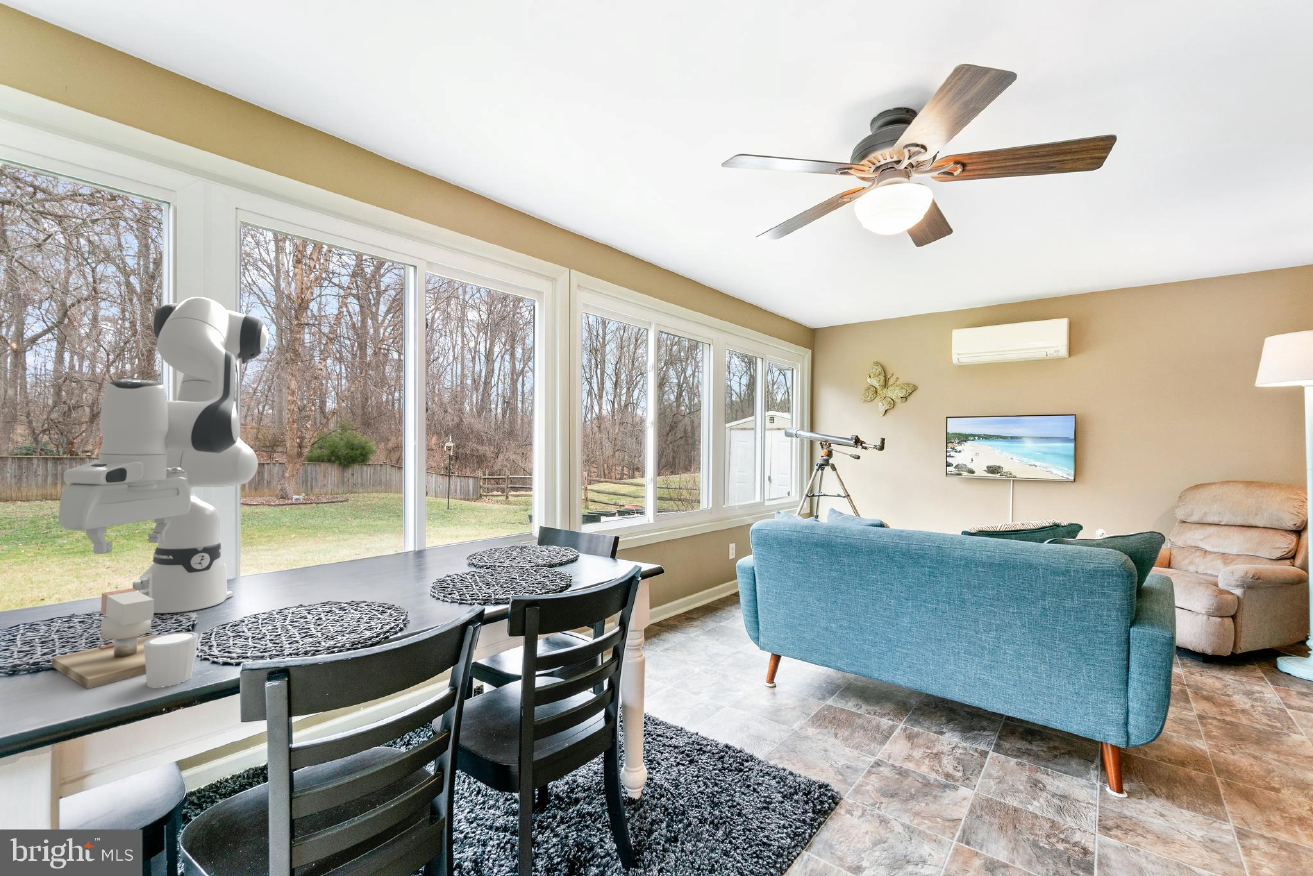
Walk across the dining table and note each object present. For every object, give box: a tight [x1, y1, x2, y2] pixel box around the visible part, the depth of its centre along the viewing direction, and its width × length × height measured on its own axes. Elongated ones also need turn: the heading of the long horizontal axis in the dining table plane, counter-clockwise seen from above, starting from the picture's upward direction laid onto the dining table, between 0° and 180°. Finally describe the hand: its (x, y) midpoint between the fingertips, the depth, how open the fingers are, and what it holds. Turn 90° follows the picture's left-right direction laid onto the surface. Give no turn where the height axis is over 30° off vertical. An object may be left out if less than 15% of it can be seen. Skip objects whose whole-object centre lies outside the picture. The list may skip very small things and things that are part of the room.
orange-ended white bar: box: [100, 587, 155, 640], centre depth 98 cm, size 6×11×7 cm, turn 58°
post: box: [113, 636, 139, 658], centre depth 98 cm, size 3×3×4 cm
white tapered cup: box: [144, 631, 199, 688], centre depth 92 cm, size 7×7×7 cm
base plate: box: [51, 634, 159, 690], centre depth 98 cm, size 16×14×2 cm
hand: (130, 547), depth 98 cm, fingers open, 8 cm apart
